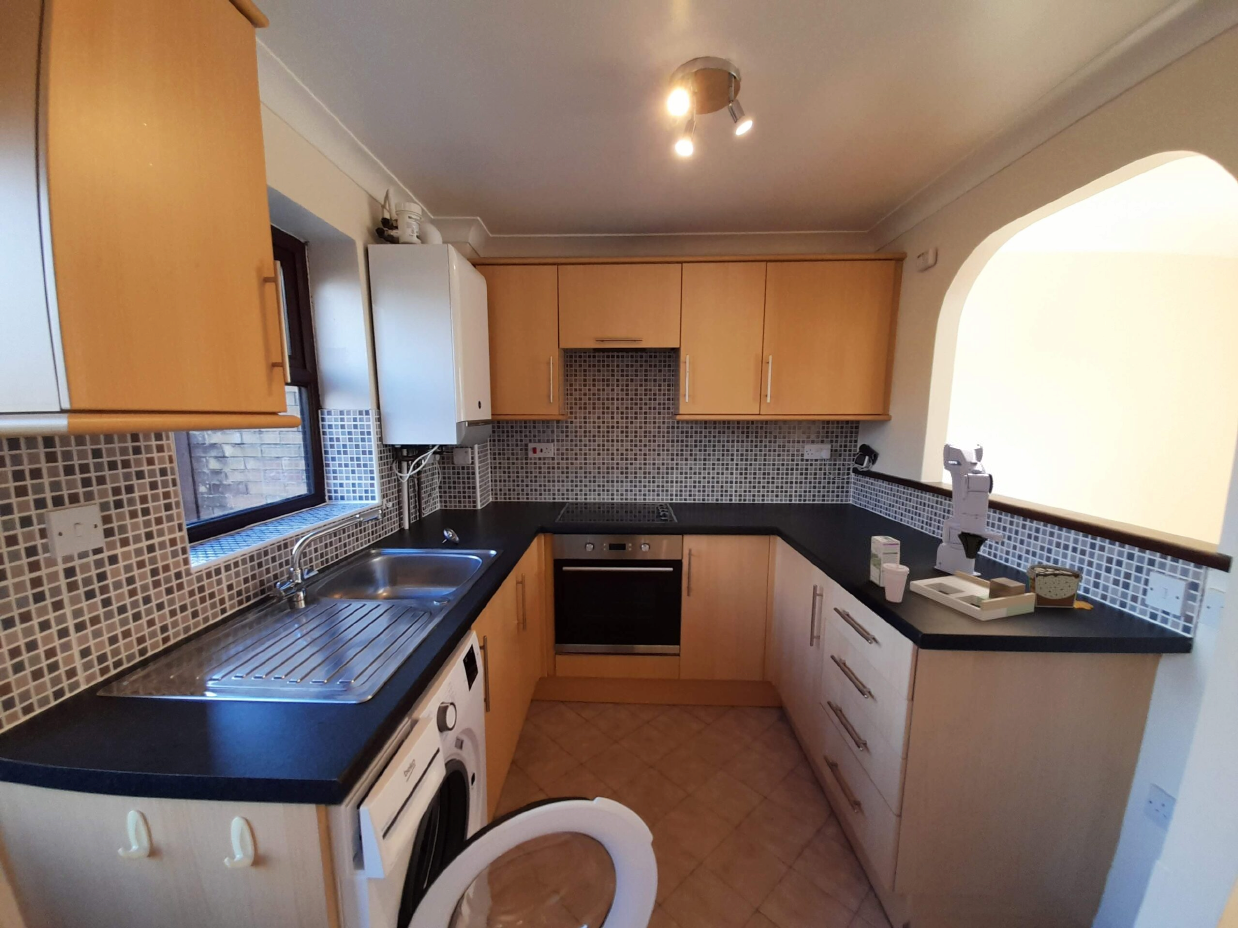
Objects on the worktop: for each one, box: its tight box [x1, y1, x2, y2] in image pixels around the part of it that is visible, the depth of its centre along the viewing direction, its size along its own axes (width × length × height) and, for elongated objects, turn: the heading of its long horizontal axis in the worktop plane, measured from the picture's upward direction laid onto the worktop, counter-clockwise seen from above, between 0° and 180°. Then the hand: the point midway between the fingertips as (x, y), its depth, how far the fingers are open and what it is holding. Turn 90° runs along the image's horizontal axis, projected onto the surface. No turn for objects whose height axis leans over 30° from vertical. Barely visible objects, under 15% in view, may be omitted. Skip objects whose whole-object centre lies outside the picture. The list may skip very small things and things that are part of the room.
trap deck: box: [909, 571, 1035, 622], centre depth 116 cm, size 20×18×5 cm
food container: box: [1025, 563, 1084, 609], centre depth 114 cm, size 12×6×10 cm, turn 84°
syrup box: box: [869, 535, 901, 588], centre depth 128 cm, size 6×6×14 cm
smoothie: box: [882, 552, 910, 603], centre depth 117 cm, size 6×6×14 cm
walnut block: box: [989, 577, 1026, 599], centre depth 111 cm, size 5×5×5 cm
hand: (970, 558), depth 123 cm, fingers closed
